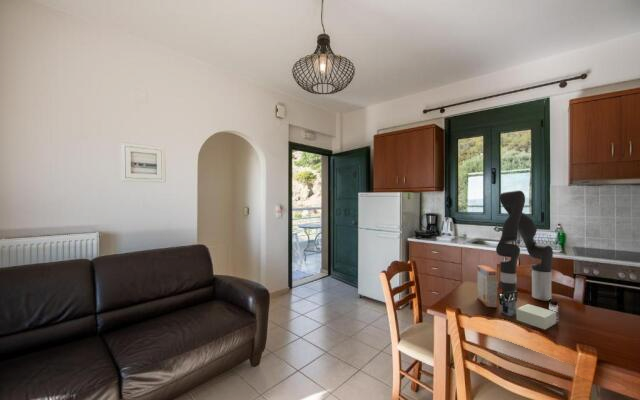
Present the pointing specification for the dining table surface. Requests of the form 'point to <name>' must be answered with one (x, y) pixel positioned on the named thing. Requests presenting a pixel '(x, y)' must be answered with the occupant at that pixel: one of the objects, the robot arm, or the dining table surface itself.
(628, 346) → the dining table surface
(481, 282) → the cracker box
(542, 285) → the robot arm
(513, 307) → the slate block
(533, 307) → the sage block
